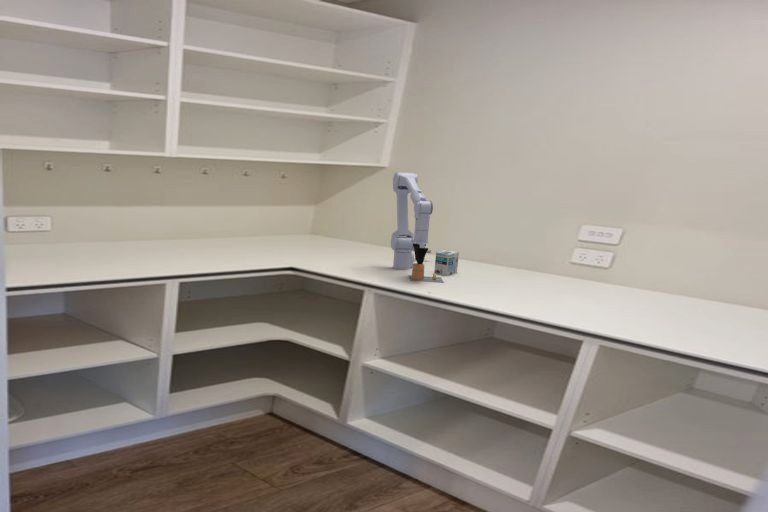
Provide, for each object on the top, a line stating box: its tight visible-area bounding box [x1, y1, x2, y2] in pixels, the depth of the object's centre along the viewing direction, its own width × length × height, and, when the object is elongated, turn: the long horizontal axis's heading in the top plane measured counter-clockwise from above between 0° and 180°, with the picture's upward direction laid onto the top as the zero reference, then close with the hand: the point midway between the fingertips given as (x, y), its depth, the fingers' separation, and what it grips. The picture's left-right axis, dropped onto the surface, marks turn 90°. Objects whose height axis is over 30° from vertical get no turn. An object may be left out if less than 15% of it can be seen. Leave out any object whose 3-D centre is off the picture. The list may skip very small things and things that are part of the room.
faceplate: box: [408, 273, 445, 284], centre depth 218 cm, size 14×10×4 cm
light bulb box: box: [433, 249, 460, 277], centre depth 233 cm, size 11×7×11 cm, turn 148°
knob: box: [411, 262, 425, 280], centre depth 218 cm, size 5×5×6 cm
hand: (418, 262), depth 217 cm, fingers open, 7 cm apart
